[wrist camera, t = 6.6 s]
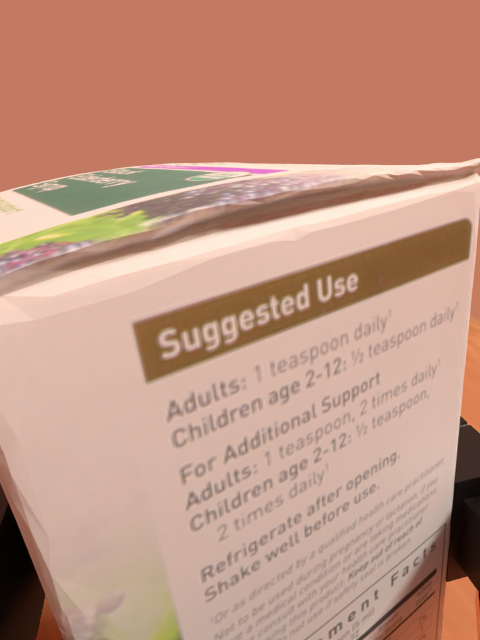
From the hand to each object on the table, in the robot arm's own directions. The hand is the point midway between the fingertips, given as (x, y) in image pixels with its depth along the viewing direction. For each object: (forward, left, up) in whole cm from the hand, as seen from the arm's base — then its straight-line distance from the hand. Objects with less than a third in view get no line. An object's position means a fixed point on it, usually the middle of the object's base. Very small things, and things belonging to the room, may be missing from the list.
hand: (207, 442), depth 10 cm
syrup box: (0, -2, -9) cm, 9 cm away
